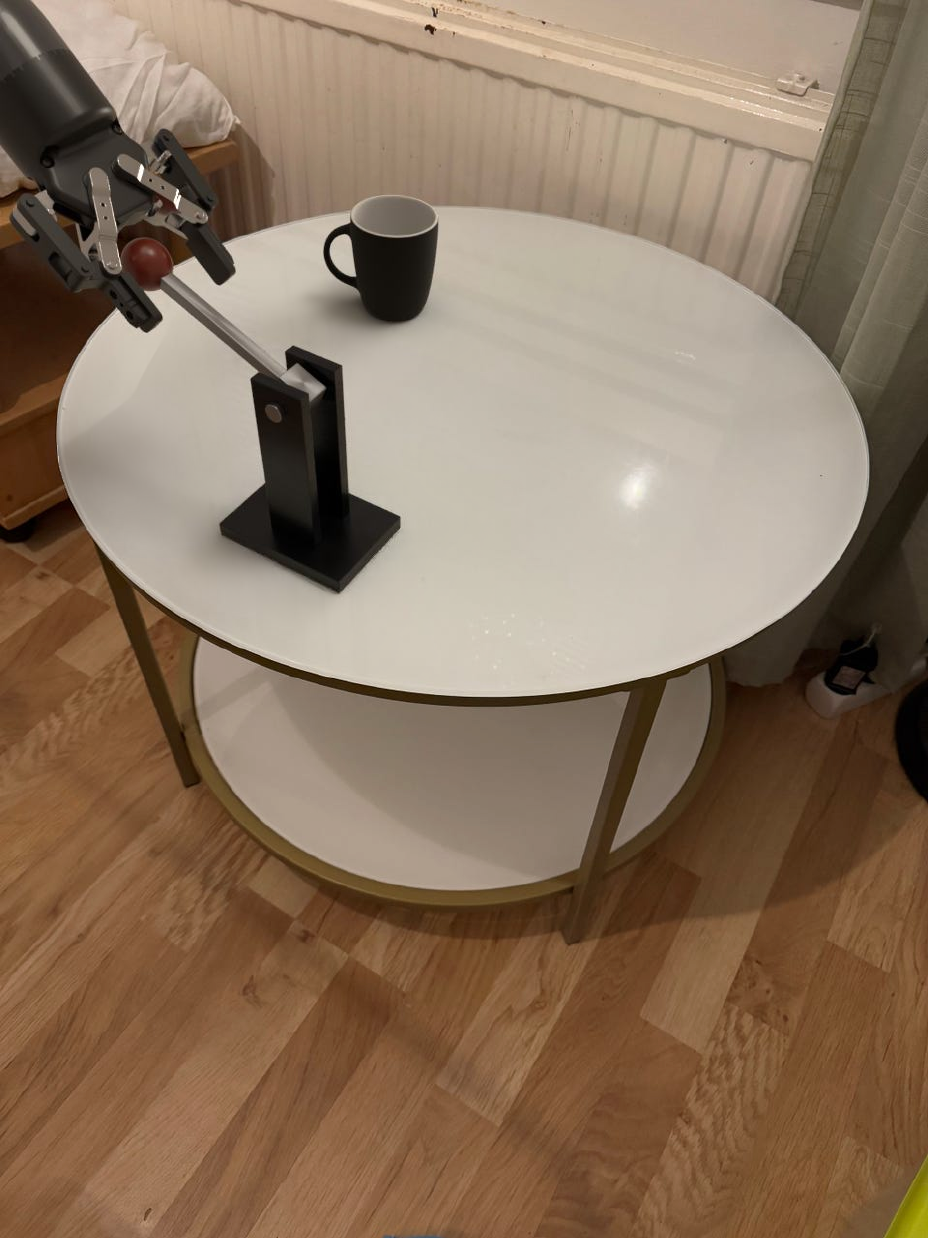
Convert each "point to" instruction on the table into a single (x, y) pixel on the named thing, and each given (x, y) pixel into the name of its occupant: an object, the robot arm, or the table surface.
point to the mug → (390, 254)
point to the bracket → (307, 483)
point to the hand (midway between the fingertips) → (192, 301)
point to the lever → (209, 314)
